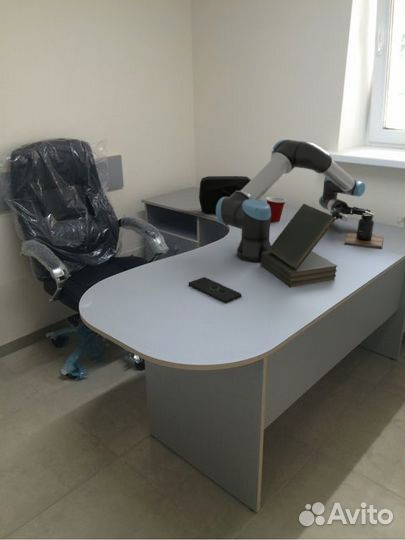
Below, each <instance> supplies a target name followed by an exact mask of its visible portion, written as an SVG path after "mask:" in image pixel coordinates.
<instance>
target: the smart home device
mask: <svg viewBox="0 0 405 540" xmlns="http://www.w3.org/2000/svg"><path fill="white" fill-rule="evenodd" d="M188 286H189V287H191V288H192V289H194V290H197V291H199V292H200V293H203V294H205V295H206V296H208V297H211V298H213V299H214V300H217V301H219V302H220V303H222V304H228V303H230V302H233V301H237V300H238V299H240V298H242V293H241V292H238V291H237V290H235V289H233V288H232V289H231V288H230V287H227V286H225V285H223V284H221V283H218V282H216V281H214V280H212V279H210V278H208V277H206V276H203V277H200V278H197V279H194V280H192V281H189V282H188Z"/></svg>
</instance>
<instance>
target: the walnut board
mask: <svg viewBox="0 0 405 540" xmlns="http://www.w3.org/2000/svg"><path fill="white" fill-rule="evenodd" d="M356 235H357V232H350V231H349V232H347V234H346V237H345V240H344V244H343V245H348V246H354V247H355V246H356V247H364V248H373V249H374V248H375V249H382V248H383V240H384V236H383V235H377V234H372V239H371V240H370V241H361V240H358V239H357V238H356Z"/></svg>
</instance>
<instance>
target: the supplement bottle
mask: <svg viewBox="0 0 405 540" xmlns="http://www.w3.org/2000/svg"><path fill="white" fill-rule="evenodd" d="M370 213H371V212H370ZM370 213H362V215H361V217H360V219H359V220H358V224H357V230H356V233H357V235H356V238H357V239H358V240H361V241H370V240H371V239H372V235H373V232H374V225H375V221H374V217H373V214H374V213H372V214H370ZM372 219H373V220H372Z"/></svg>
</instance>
